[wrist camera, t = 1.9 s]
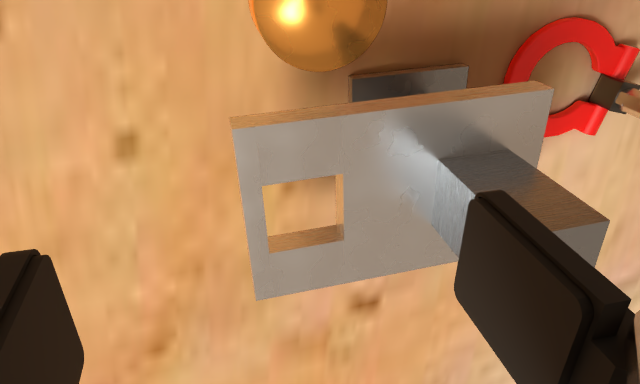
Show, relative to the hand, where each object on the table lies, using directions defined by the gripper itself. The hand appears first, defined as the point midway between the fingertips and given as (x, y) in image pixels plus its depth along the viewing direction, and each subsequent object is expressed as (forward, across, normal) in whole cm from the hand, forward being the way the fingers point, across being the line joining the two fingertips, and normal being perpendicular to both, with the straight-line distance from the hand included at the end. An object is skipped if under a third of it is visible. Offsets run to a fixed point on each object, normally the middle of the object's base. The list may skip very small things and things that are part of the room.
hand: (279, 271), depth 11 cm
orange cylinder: (+20, -3, -4) cm, 21 cm away
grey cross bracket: (+20, -8, +6) cm, 22 cm away
